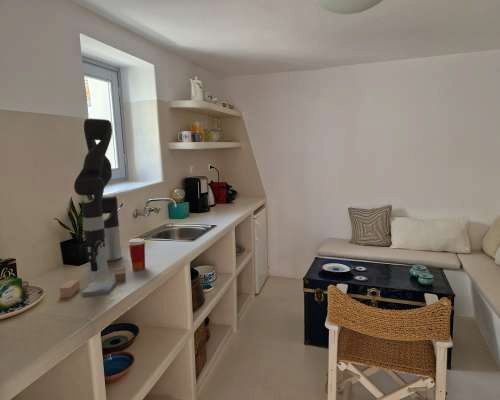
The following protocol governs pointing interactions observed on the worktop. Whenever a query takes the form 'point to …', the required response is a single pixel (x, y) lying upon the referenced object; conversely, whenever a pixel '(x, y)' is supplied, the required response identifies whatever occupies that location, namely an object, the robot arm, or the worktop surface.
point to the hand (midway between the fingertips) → (98, 267)
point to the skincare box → (99, 265)
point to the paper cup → (137, 253)
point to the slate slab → (99, 288)
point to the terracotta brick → (69, 288)
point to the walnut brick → (120, 275)
